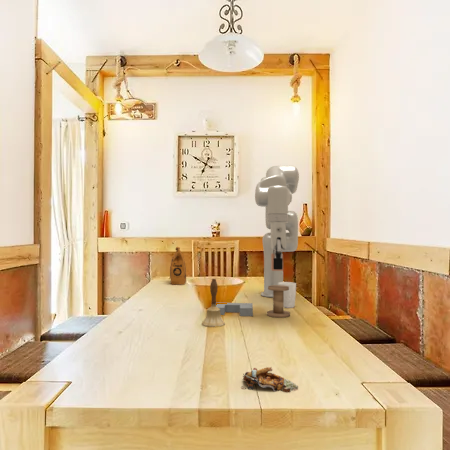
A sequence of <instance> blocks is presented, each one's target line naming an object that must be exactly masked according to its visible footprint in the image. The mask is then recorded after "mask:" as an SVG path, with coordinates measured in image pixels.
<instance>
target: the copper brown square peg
mask: <svg viewBox="0 0 450 450" xmlns="http://www.w3.org/2000/svg"><path fill="white" fill-rule="evenodd" d="M282 258H283V259H284V254H283V253H282ZM271 270H272V271H283V272H284V267H283V268H282V269H281V270H280V269H274V254H271Z"/></svg>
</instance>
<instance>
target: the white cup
mask: <svg viewBox="0 0 450 450" xmlns="http://www.w3.org/2000/svg"><path fill="white" fill-rule="evenodd" d="M278 285H283V286H288V287H289V290H287V291H284V309H285V308H288V309H292V308H295V307H296V295H297V283H296V282H291V281H283V282H279V283H278Z"/></svg>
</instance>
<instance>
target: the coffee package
mask: <svg viewBox="0 0 450 450" xmlns="http://www.w3.org/2000/svg"><path fill="white" fill-rule="evenodd" d="M169 266H170V267H169V278H170V279H169V280H170V282H171V283H170V284H172V286H174V285H175V286H176V285H177V286H179V285H182V286H183V285H185V284H186V282H187V269H186V268H187V267H186V262H185V259H184V254H183V253H182V251H181V247H179V246H176V247H175V252H174V254H173V256H172V257H171V261H170V265H169Z"/></svg>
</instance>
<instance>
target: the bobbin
mask: <svg viewBox="0 0 450 450" xmlns="http://www.w3.org/2000/svg"><path fill="white" fill-rule="evenodd" d="M268 289H269V290H273V297H272V300H273V301H272V305H273V307H272V310H267V311H266V316H268V317H271V318H280V319H281V318H283V319H284V318H289V317H290V316H291V312H290V311H288V310H285V308H284V291H287V290H289V287H288V286H283V285H271V286H268Z"/></svg>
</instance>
